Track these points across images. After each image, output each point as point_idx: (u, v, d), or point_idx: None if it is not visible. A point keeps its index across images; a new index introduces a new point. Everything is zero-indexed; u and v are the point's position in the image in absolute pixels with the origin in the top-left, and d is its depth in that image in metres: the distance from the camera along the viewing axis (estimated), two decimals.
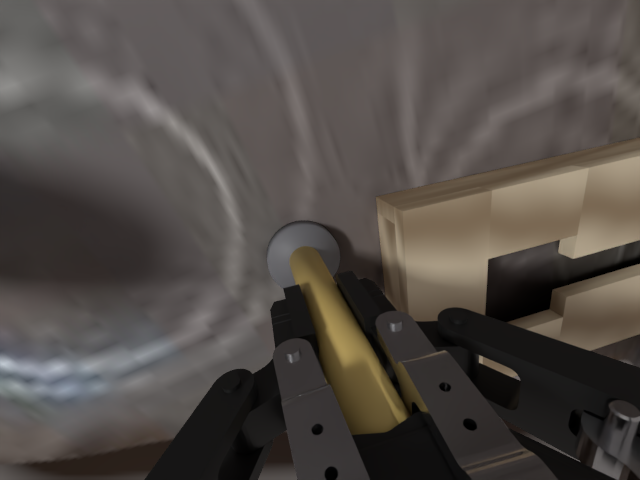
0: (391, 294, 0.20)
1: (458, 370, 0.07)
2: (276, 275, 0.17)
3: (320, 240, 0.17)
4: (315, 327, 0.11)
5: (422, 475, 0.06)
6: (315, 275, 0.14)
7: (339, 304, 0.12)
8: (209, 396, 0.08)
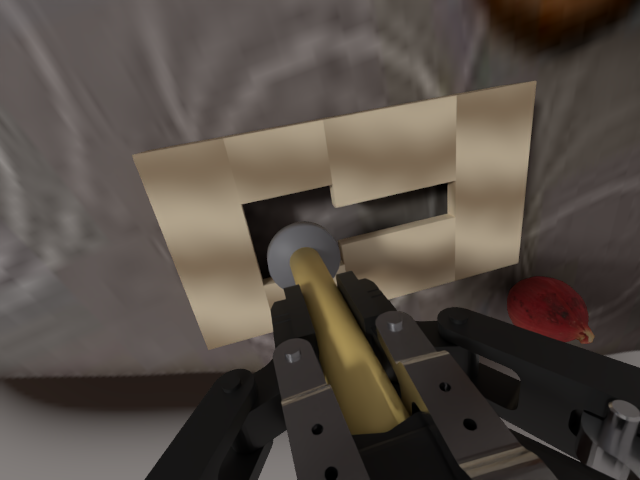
0: None
1: (458, 370, 0.07)
2: (277, 277, 0.17)
3: (320, 241, 0.17)
4: (315, 329, 0.11)
5: (422, 475, 0.06)
6: (315, 277, 0.14)
7: (340, 306, 0.12)
8: (209, 396, 0.08)
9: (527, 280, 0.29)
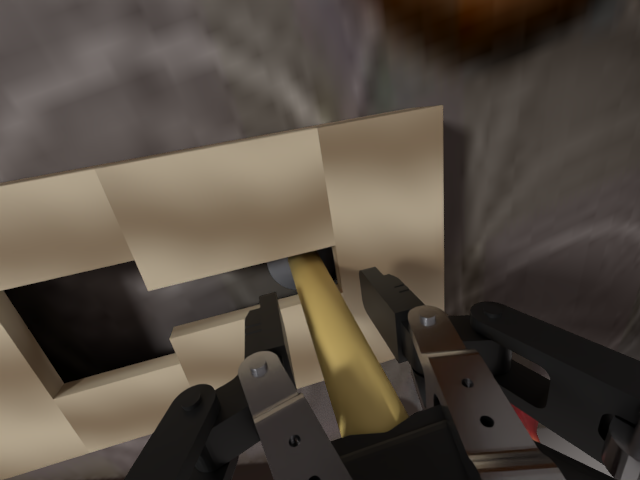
0: None
1: (485, 369, 0.07)
2: (275, 273, 0.18)
3: None
4: (312, 321, 0.11)
5: (422, 475, 0.06)
6: (312, 272, 0.14)
7: (336, 299, 0.12)
8: (168, 417, 0.08)
9: None
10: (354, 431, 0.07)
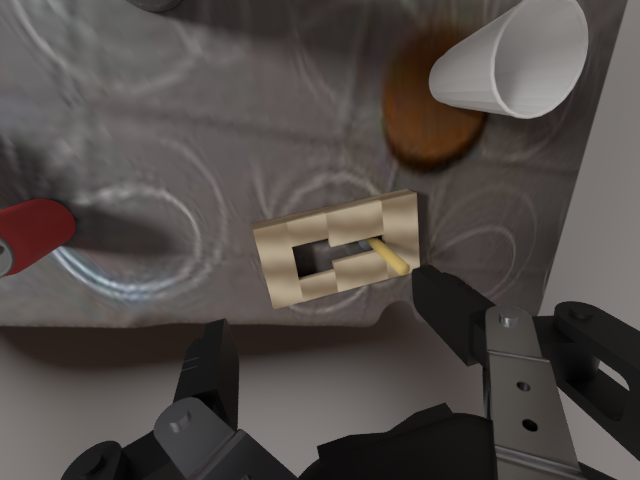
0: None
1: (553, 381, 0.07)
2: (361, 244, 0.52)
3: None
4: (382, 252, 0.46)
5: (422, 475, 0.06)
6: (378, 241, 0.49)
7: (387, 247, 0.46)
8: None
9: None
10: (396, 264, 0.42)
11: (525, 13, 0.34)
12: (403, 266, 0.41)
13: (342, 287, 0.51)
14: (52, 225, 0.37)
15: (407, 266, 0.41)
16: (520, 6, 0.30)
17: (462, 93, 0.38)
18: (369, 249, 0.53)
